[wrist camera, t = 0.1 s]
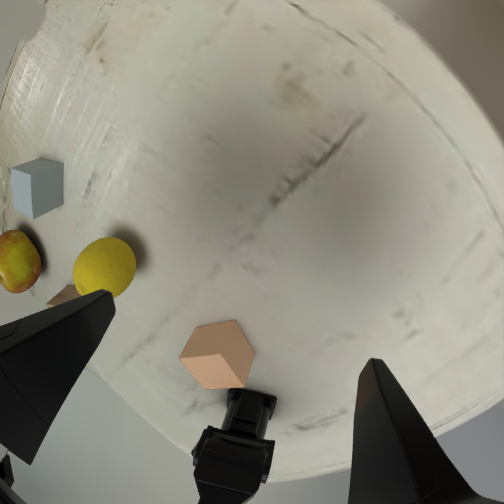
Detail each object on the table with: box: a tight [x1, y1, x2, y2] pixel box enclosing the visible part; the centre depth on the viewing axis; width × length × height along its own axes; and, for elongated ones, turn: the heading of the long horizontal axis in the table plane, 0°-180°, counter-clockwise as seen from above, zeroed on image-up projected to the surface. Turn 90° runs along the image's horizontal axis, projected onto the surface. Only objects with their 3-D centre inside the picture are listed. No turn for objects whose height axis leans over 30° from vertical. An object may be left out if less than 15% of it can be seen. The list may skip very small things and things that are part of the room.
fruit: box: [0, 230, 41, 293], centre depth 28 cm, size 10×9×8 cm
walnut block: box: [46, 285, 82, 308], centre depth 30 cm, size 5×5×5 cm
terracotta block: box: [178, 320, 255, 389], centre depth 27 cm, size 5×5×5 cm
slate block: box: [11, 158, 64, 219], centre depth 23 cm, size 5×5×5 cm
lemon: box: [73, 237, 136, 298], centre depth 23 cm, size 6×6×8 cm
